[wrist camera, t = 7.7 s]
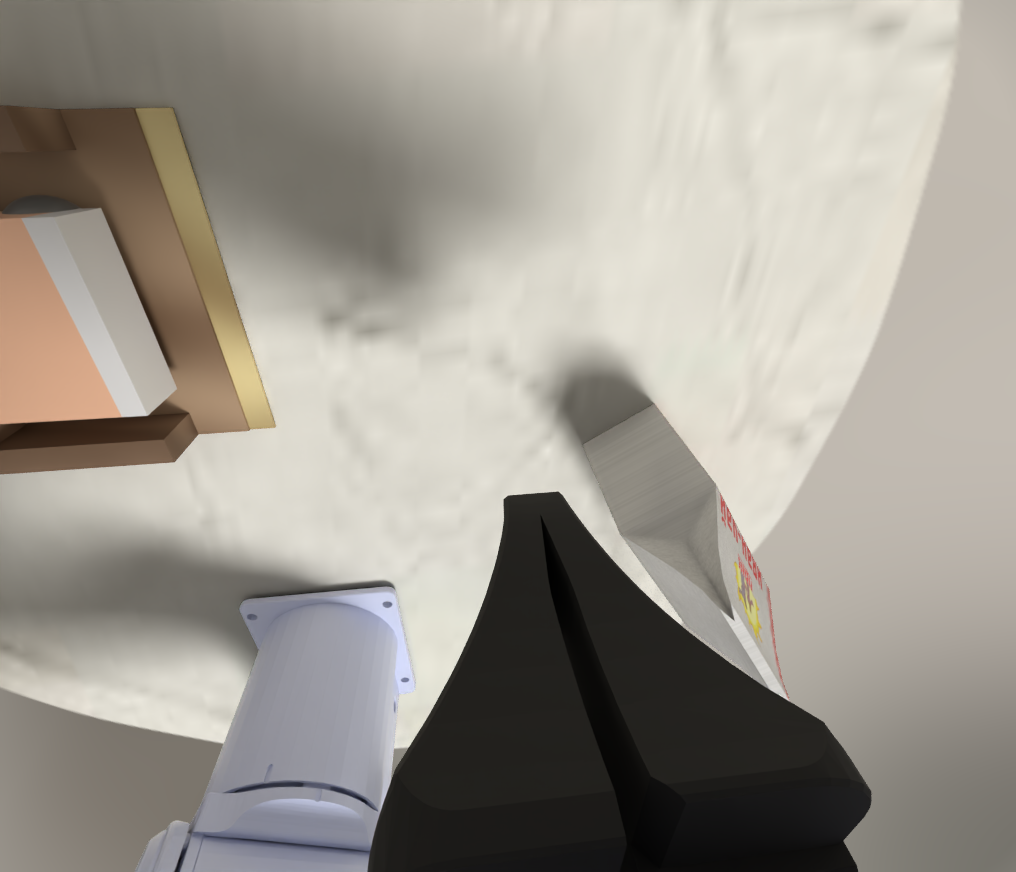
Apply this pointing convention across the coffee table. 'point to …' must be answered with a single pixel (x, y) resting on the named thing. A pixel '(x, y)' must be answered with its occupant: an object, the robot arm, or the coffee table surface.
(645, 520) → the gable top carton
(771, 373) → the coffee table surface
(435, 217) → the coffee table surface
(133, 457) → the tray
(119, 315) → the trolley
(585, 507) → the coffee table surface
